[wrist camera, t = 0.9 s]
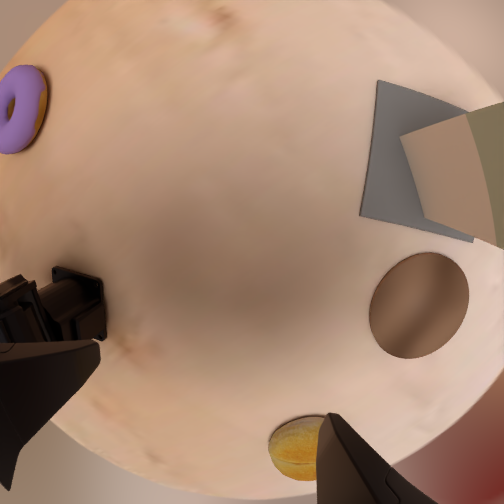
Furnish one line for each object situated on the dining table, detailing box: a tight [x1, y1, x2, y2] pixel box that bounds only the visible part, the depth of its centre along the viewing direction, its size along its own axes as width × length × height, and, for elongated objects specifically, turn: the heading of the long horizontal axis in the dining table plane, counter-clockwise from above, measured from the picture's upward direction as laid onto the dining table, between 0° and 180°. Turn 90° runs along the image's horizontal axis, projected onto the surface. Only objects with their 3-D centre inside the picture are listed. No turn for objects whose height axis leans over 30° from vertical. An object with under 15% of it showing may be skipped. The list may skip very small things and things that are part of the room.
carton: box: [400, 102, 504, 250], centre depth 11 cm, size 6×6×12 cm
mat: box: [359, 80, 474, 243], centre depth 17 cm, size 10×10×1 cm
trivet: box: [370, 253, 469, 359], centre depth 20 cm, size 9×9×1 cm
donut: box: [0, 65, 47, 154], centre depth 20 cm, size 10×9×5 cm
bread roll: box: [268, 417, 325, 481], centre depth 24 cm, size 8×9×4 cm
